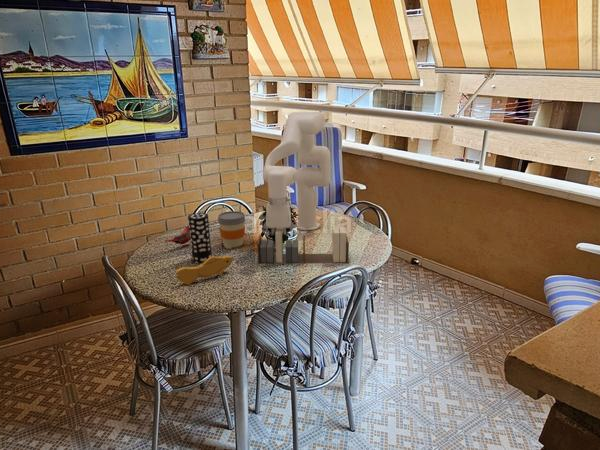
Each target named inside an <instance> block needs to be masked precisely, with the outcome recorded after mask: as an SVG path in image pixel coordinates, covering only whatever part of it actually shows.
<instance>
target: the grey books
mask: <svg viewBox="0 0 600 450" xmlns="http://www.w3.org/2000/svg"><path fill="white" fill-rule="evenodd" d="M284 245H285V246H284V251H285V252H284V254H285V255H286V263H291V262H292V263H294V262H298V254H299V239H286V241H285V244H284ZM274 254H275V244H274V241H272V239H269V240H267V239H265V240H264V239H263V240H262V239H261V245H260V258H261V263H273V260H274Z"/></svg>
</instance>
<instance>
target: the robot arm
mask: <svg viewBox="0 0 600 450" xmlns="http://www.w3.org/2000/svg"><path fill="white" fill-rule="evenodd" d="M325 125H326V117H325V115H324V113H323V112H321V111H292V112H290V113H288V116H287V119H286V120H285V124H284V128H283V132H282V137H281V139H280V143H279V144H278V145H277V146H276V147H275V148H274V149H272V150H271V151H270V153H269V154H268V155H267V157H266V159H265V162H264V167H263V171H262V178H263V180H264V182H265V183H267V191H268V194H267V195H268V202H267V204H266V210H265V211H266V213H265V214H266V215H265V222H264V224H263V227H262V228H263V229H264V230H265V231H267V232H269V233H270V234H271V240H272V241H274V245H276V239H275V233H276V228H283V235H282V239H283V245H285V244H286V240H287V234H288V233H289V232H290V231H292V230H293V229H295V228H296V225H295V224H294V223H293V221H292V214H291V212H292V211H291V206H290V202H291V201H292V199H291V197H289V196H288V186H290V185H291V186H292V185H294V184H295V183H296V187H297V212H298V213H297V217H298V218H297V221H298V222H297V225H298V227H297V228H296V229H297V230H300V231H315V230H317V229H319V228H320V222H317V216H318V215H317V193H316V190H315V188H318V187H319V188H326V187H329V185H330V184H331V179H332V178H331V177H332V176H331V174H332V173H331V172H332V171H331V152H330V149H329V147H327V146H324V145H316V143H315V141H316V140H315V135H317V134H319V133H320V132H322V131H323V129H324V127H325ZM294 154H297V161H298V163H299V164H300V165H303V166H301V167H299V168H295V167H294V166H288V165H287V166H285V165H284V166H283V165H276V164H277V163H278V162H279V161H281V160H282V159H284V158H287V157H290V156H292V155H294ZM314 166H315V167H314ZM316 166H317V167H316ZM314 187H315V188H314Z"/></svg>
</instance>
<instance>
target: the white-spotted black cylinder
mask: <svg viewBox="0 0 600 450" xmlns="http://www.w3.org/2000/svg"><path fill="white" fill-rule="evenodd" d="M187 220H188V221H187V222H188V225H189V231H190V240H189V241H190V247H191V256H192V257H191V258H192V262H193V263H195V264H203V263H204V262H205V261H206V260H207V259H208V258H210V257H212V256H213V253H212V241H211V232H210V222H209V221H210V220H209V214H208V213H205V212H196V213H195V212H194V213H191V214H188V216H187Z"/></svg>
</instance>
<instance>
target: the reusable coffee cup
mask: <svg viewBox="0 0 600 450" xmlns="http://www.w3.org/2000/svg"><path fill="white" fill-rule="evenodd" d="M217 223H218V225H219V227H218V229H219V234H220V237H221V238H222V242H223V243H222V244H223V247H224V248H225V249H228V250H232V248H237V247H241V246H242V245H243V244H244V238H245V235H246V234H245V233H246V225H245V223H246V216H245V213H244V212H242V211H239V210H238V211H237V210H231V211H225V212H220V213H219V214H218V216H217Z"/></svg>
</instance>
